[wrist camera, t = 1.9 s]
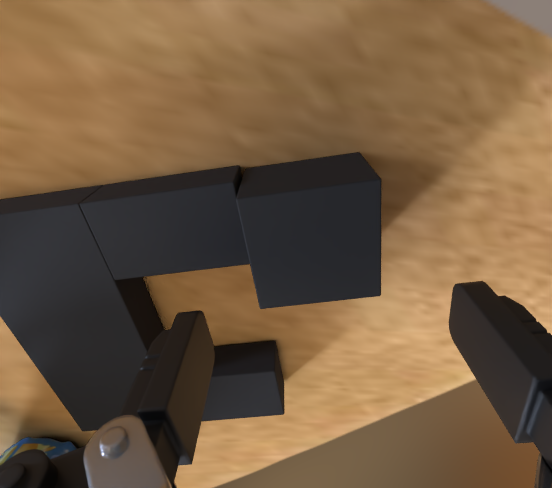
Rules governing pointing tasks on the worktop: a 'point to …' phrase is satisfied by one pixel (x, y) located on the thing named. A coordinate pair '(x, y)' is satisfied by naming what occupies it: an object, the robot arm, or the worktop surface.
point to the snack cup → (38, 447)
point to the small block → (312, 230)
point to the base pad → (124, 288)
